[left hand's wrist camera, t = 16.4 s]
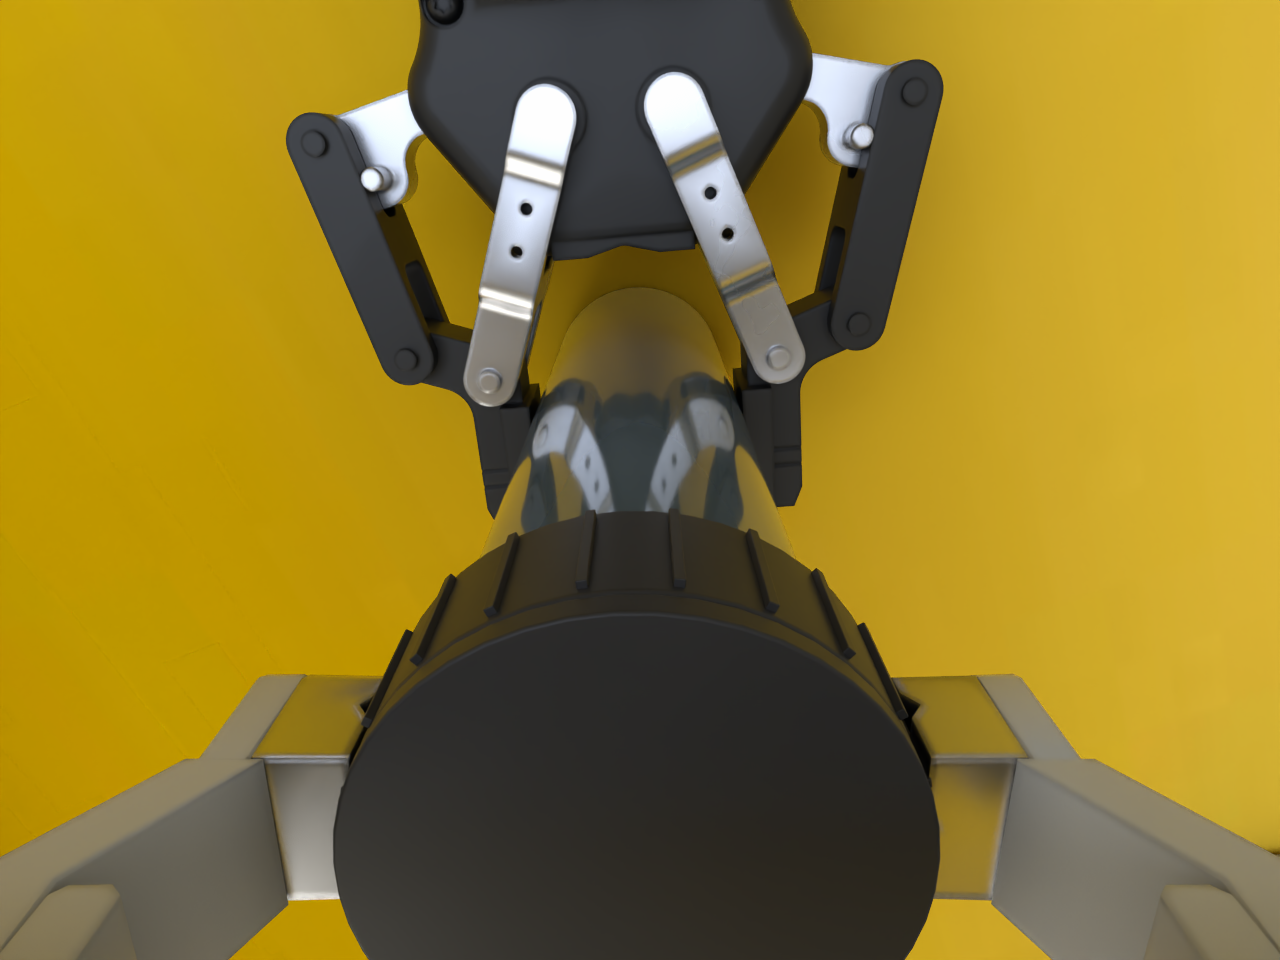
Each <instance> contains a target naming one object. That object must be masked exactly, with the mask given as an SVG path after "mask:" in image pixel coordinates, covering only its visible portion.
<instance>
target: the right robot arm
mask: <svg viewBox="0 0 1280 960" xmlns="http://www.w3.org/2000/svg"><path fill="white" fill-rule="evenodd" d="M418 1H419V7H420V19H421V27H420V37H419V44H418V48H417V52H416V56H415V59H414V62H413V64H412V67H411V70H410V73H409V78H408V90H406V91H403V92H400V93H398V94H395V95H392V96H389V97H387V98H384V99H381V100H379V101H376V102H373V103H370V104H368V105H365V106H362V107H360V108H357V109H354V110H351V111H349V112H346V113H343V114H341V115H330V114H322V113H304V114H302V115H300V116H298V117H296V118H295V119H294V120H293V121H292V123H291V124H290V126H289V128H288V130H287V135H286V145H287V149H288V152H289V155H290V157H291V159H292V162H293V164H294V166H295V168H296V171H297V173H298V175H299V178H300V180H301V182H302V184H303V187H304V189H305V191H306V194H307V196H308V198H309V201H310V203H311V205H312V207H313V210H314V212H315V214H316V217H317V219H318V221H319V223H320V226H321V228H322V230H323V233H324V235H325V237H326V239H327V242H328V244H329V246H330V249H331V251H332V253H333V256H334V258H335V260H336V262H337V265H338V267H339V269H340V272H341V274H342V276H343V278H344V281H345V283H346V285H347V288H348V290H349V292H350V294H351V297H352V299H353V301H354V304H355V306H356V308H357V311H358V313H359V315H360V317H361V320H362V322H363V324H364V327H365V329H366V331H367V333H368V336H369V338H370V340H371V343H372V345H373V347H374V349H375V352H376V354H377V356H378V359H379V361H380V363H381V366H382V368H383V370H384V371H385V373H386V374H387V375H388V376H389V377H390V378H391V379H392V380H394V381H395V382H397V383H400V384H403V385H415V384H419V383H425V384H429V385H433V386H437V387H440V388H444V389H448V390H451V391H453V392H455V393H457V394H458V395H460V396H461V397H462V398H463V399H464V400H465V401H466V402H467V403H468V405H469V406H470V408H471V410H472V413H473V417H474V423H475V429H476V436H477V442H478V449H479V455H480V462H481V468H482V475H483V482H484V486H485V495H486V501H487V508H488V511H489V512H490V514H491V516H492V517H493V519H494V520H495V517H496V515H497V512H498V509H499V507H500V504H501V502H502V499H503V496H504V494H505V491H506V489H507V486H508V483H509V481H510V478H511V475H512V473H513V470H514V468H515V465H516V462H517V460H518V457H519V455H520V452H521V449H522V447H523V444H524V441H525V439H526V436H527V434H528V431H529V428H530V426H531V423H532V421H533V418H534V415H535V413H536V410H537V408H538V405H539V402H540V400H541V396H540V388H539V383H538V384H529V377H528V369H527V367H528V364H529V360H530V355H531V351H532V347H533V343H534V339H535V335H536V330H537V326H538V322H539V318H540V314H541V310H542V306H543V302H544V298H545V295H546V292H547V289H548V285H549V282H550V278H551V274H552V269H553V265H554V261H558V260H570V259H582V258H589V257H592V256H594V255H597V254H600V253H603V252H605V251H608V250H611V249H613V248H616V247H619V246H624V245H625V246H631V247H637V248H642V249H647V250H653V251H658V252H664V251H676V250H688V249H695V244H698V246H699V249H700V251H701V253H702V255H703V258H704V260H705V262H706V265H707V267H708V269H709V272H710V274H711V276H712V278H713V280H714V283H715V285H716V287H717V289H718V292H719V294H720V296H721V299H722V301H723V303H724V305H725V308H726V310H727V312H728V315H729V317H730V319H731V322H732V324H733V326H734V329H735V331H736V333H737V335H738V338H739V340H740V346H741V368H733V383H734V393H735V396H736V399H737V401H738V404H739V407H740V409H741V412H742V415H743V417H744V420H745V423H746V425H747V428H748V431H749V434H750V436H751V439H752V442H753V444H754V447H755V450H756V452H757V455H758V458H759V461H760V463H761V466H762V469H763V471H764V474H765V477H766V479H767V482H768V485H769V487H770V490H771V493H772V496H773V498H774V501H775V504H776V506H777V507H784V506H794V505H795V503H796V500H797V498H798V495H799V493H800V490H801V487H802V465H801V461H802V459H801V413H800V387H801V383H802V380H803V378H804V376H805V374H806V373H807V371H808V370H809V369H810V368H811V367H812V366H813V365H814V364H816V363H817V362H819V361H821V360H823V359H825V358H827V357H830V356H832V355H834V354H836V353H839V352H841V351H843V350H846V349H849V350H863V349H866V348H869V347H871V346H872V345H873V344H875V343H876V342H877V341H878V340H879V338H880V337H881V336H882V334H883V331H884V329H885V325H886V321H887V317H888V313H889V309H890V305H891V301H892V297H893V293H894V289H895V285H896V281H897V277H898V273H899V269H900V265H901V261H902V257H903V253H904V249H905V245H906V241H907V237H908V233H909V229H910V225H911V220H912V216H913V212H914V208H915V204H916V200H917V196H918V192H919V188H920V184H921V180H922V176H923V172H924V168H925V164H926V160H927V156H928V152H929V148H930V144H931V140H932V136H933V132H934V128H935V124H936V120H937V116H938V112H939V108H940V104H941V100H942V96H943V81H942V78H941V75H940V73H939V71H938V70H937V69H936V67H934V66H933V65H932V64H931V63H929V62H927V61H924V60H909V61H903V62H898V63H896V64H893V65H889V66H887V65H881V64H875V63H869V62H863V61H857V60H851V59H845V58H839V57H833V56H828V55H822V54H816V53H812V50H811V46H810V43H809V40H808V37H807V35H806V33H805V31H804V30H803V28H802V26H801V25H800V23H799V21H798V19H797V17H796V15H795V13H794V10H793V7H792V5H791V2H790V0H418ZM801 103H803V104H805V105H807V106H808V107H810V108H811V109H812V110H813V111H814V113H815V114H816V116H817V118H818V121H819V125H820V138H819V141H820V147H821V150H822V153H823V154H824V156H825V157H826V158H827V159H828V160H829V161H830V162H832V163H834V164H836V165H840V166H842V168H841V172H840V177H839V181H838V186H837V191H836V195H835V200H834V204H833V209H832V214H831V218H830V223H829V227H828V232H827V236H826V241H825V246H824V250H823V255H822V259H821V264H820V268H819V273H818V278H817V282H816V287H815V291H814V293H813V294H811V295H808V296H806V297H804V298H802V299H800V300H797V301H795V302H793V303H791V304H789V305H786V302H785V300H784V297H783V295H782V292H781V290H780V288H779V285H778V283H777V280H776V277H775V273H774V269H773V266H772V263H771V261H770V258H769V256H768V253H767V251H766V248H765V246H764V243H763V241H762V238H761V236H760V234H759V231H758V229H757V226H756V224H755V221H754V219H753V216H752V214H751V211H750V209H749V207H748V204H747V202H746V199H745V197H744V195H745V193H746V192H747V190H748V189H749V187H750V185H751V184H752V182H753V180H754V179H755V177H756V176H757V174H758V172H759V171H760V169H761V167H762V166H763V164H764V163H765V161H766V159H767V158H768V156H769V154H770V153H771V151H772V150H773V148H774V146H775V145H776V143H777V142H778V140H779V138H780V137H781V135H782V133H783V132H784V130H785V129H786V127H787V125H788V124H789V122H790V120H791V119H792V117H793V116H794V114H795V112H796V111H797V109H798V107H799V106H800V104H801ZM426 138H428V139H429V140H430V141H431V142H432V143H433V145H434V146H435V147H436V148H437V149H438V150H439V151H440V152H441V154H442V155H443V156H444V157H445V158H446V159H447V160H448V162H449V163H450V164H451V165H452V166H453V167H454V168H455V170H456V171H457V172H458V173H459V174H460V175H461V176H462V177H463V179H464V180H465V181H466V182H467V183H468V184H469V185H470V187H471V188H472V189H473V190H474V191H475V192H476V193H477V195H478V196H479V197H480V198H481V199H482V200H483V201H484V202H485V204H486V205H487V206H488V207H489V208H490V209H491V210H492V212H493V213H494V214H495V217H494V221H493V226H492V231H491V235H490V240H489V245H488V249H487V254H486V259H485V263H484V268H483V273H482V277H481V282H480V287H479V305H478V311H477V315H476V320H475V325H474V329H473V330H472V329H469V328H465V327H461V326H457V325H454V324H450V322H449V319H448V317H447V315H446V312H445V310H444V307H443V305H442V302H441V300H440V297H439V295H438V292H437V290H436V287H435V285H434V282H433V280H432V277H431V275H430V272H429V270H428V267H427V265H426V262H425V260H424V257H423V255H422V252H421V250H420V247H419V245H418V242H417V240H416V237H415V235H414V232H413V230H412V228H411V225H410V223H409V220H408V218H407V215H406V213H405V210H404V208H403V205H402V204H403V203H405V202H407V201H408V200H410V199H411V197H412V196H413V195H414V193H415V191H416V189H417V185H418V174H417V170H416V166H415V156H416V152H417V149H418V147H419V145H420V144H421V142H422V141H423V140H424V139H426Z"/></svg>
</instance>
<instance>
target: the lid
mask: <svg viewBox="0 0 1280 960" xmlns="http://www.w3.org/2000/svg"><path fill="white" fill-rule="evenodd" d="M907 717H908V714H907V712H906V710H905V707H904V705H903V703H902V701H901V699H900V697H899V695H898V692H897V690H896V688H895V686H894V684H893V682H892V679H891V677H890V675H889V673H888V671H887V669H886V667H885V664H884V662H883V660H882V658H881V656H880V654H879V652H878V649H877V647H876V645H875V643H874V641H873V639H872V636H871V634H870V632H869V630H868V628H867V626H866V625H865V623H861V624H859V625H858V626H857V624H856V622H855V620H854V619H853V617H852V615H851V614H850V613H849V611H848V610H847V609H846V608H845V606H844V605H843V604H842V602H841V601H840V600H839V599H838V597H837V596H836V595H835V594H834V592H833V591H832V590H831V589H830V588H829V587H828V585H827V582H826V580H825V578H824V575H823V573H822V572H821V571H819V570H818V569H817V568H816V569H815V570H814V571H813V572H812V571H811V570H810V569H808V568H807V567H805V566H804V565H803V564H801V563H800V562H798V561H797V560H796V559H794V558H793V557H791V556H790V555H789V554H787V553H786V552H784V551H783V550H781V549H779V548H777V547H775V546H773V545H771V544H769V543H768V542H766V541H764V540H762V539H760V538H759V534H758V532H757V531H755V530H753V529H750V528H749V529H748V531H747V532H744V531H741V530H739V529H736V528H733V527H731V526H728V525H725V524H723V523H719V522H715V521H711V520H706V519H702V518H698V517H694V516H690V515H683V514H679V509H674V508H669V512H668V513H666V512H657V511H615V512H608V513H600V514H596V511H595V509H593V510H586V511H585V515H584V516H579V517H575V518H571V519H568V520H564V521H560V522H556V523H552V524H548V525H545V526H543V527H540V528H538V529H535V530H533V531H530V532H528V533H525V534H523V535H520V536H519V535H518V534H517V532H514V533H512V534H510V535H508V537H507V540H506V543H505V544H503V545H501V546H499V547H497V548H495V549H494V550H492V551H490V552H488V553H487V554H485V555H484V556H483V557H481V558H480V559H478V560H477V561H476V562H474V563H473V564H472V565H470V566H469V567H468V568H466V569H465V570H464V571H462V572H461V573H460V574H459V575H458V576H457V577H455V576H453V575H452V574H450V575H449V576H448V577H447V578H446V579H445V580H444V583H443V585H442V587H441V589H440V592H439V594H438V596H437V597H436V599H435V600H434V601H433V603H432V604H431V605H430V607H429V608H428V609H427V611H426V612H425V613H424V614H423V616H422V617H421V619H420V620H419V622H418V624H417V626H416V628H415V630H414V631H413V632H412V631H409V630H407V629H406V630H405V632H404V634H403V636H402V638H401V640H400V642H399V644H398V646H397V649H396V651H395V653H394V655H393V657H392V659H391V661H390V663H389V665H388V667H387V669H386V672H385V674H384V676H383V678H382V680H381V682H380V684H379V686H378V688H377V690H376V692H375V695H374V697H373V699H372V701H371V703H370V705H369V707H368V709H367V711H366V713H365V715H364V718H363V720H362V722H361V725H362V726H365V727H367V728H368V729H367V731H366V733H365V735H364V737H363V740H362V742H361V745H360V747H359V748H358V750H357V753H356V755H355V757H354V759H353V761H352V763H351V766H350V768H349V770H348V773H347V776H346V779H345V782H344V785H343V787H341V790H340V796H339V799H338V805H337V810H336V816H335V822H334V828H333V865H334V871H335V877H336V883H337V888H338V894H339V897H340V900H341V903H342V906H343V909H344V912H345V915H346V918H347V921H348V924H349V926H350V928H351V929H352V931H353V933H354V935H355V937H356V939H357V941H358V943H359V945H360V947H361V949H362V951H363V952H364V954H365V955H366V956H367V958H368V959H369V960H905V958H906V957H907V955H908V954H909V953H910V951H911V950H912V948H913V946H914V944H915V942H916V940H917V938H918V936H919V934H920V932H921V930H922V928H923V926H924V924H925V922H926V920H927V917H928V913H929V910H930V907H931V904H932V901H933V898H934V895H935V891H936V885H937V878H938V871H939V864H940V826H939V821H938V816H937V811H936V806H935V800H934V795H933V793H932V790H931V788H932V781H931V778H928V776H927V774H926V771H925V769H924V767H923V765H922V763H921V761H920V758H919V756H918V754H917V752H916V750H915V748H914V745H913V743H912V741H911V739H910V737H909V736H910V731H909V729H908V727H907V725H906V723H905V720H904V719H905V718H907Z"/></svg>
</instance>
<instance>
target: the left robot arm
mask: <svg viewBox="0 0 1280 960" xmlns="http://www.w3.org/2000/svg"><path fill="white" fill-rule="evenodd" d="M382 678H383V676H347V675H309V676H307V675H305V674H285V675H265V676H262V677H259V678H258V679H257V680H256V682H255V683H254V684H253V686H252V687H251V689H250V690H249V691H248V693H247V694H246V695H245V697H244V698H243V699H242V701H241V702H240V704H239V705H238V706H237V708H236V709H235V710H234V712H233V713H232V714H231V716H230V717H229V719H228V720H227V721H226V723H225V724H224V725H223V727H222V728H221V729H220V731H219V732H218V734H217V735H216V736H215V738H214V739H213V740H212V742H211V743H210V744H209V746H208V747H207V749H206V750H205V751H204V753H203V754H202V755H201V757H200V758H199V759H184V760H183V761H181V762H179V763H177V764H175V765H173V766H171V767H169V768H168V769H166V770H164V771H162V772H160V773H158V774H156V775H154V776H152V777H151V778H149V779H147V780H145V781H143V782H141V783H139V784H137V785H135V786H134V787H132V788H130V789H128V790H126V791H124V792H122V793H120V794H119V795H117V796H115V797H113V798H111V799H109V800H107V801H105V802H103V803H102V804H100V805H98V806H96V807H94V808H92V809H90V810H88V811H86V812H85V813H83V814H81V815H79V816H77V817H75V818H73V819H71V820H70V821H68V822H66V823H64V824H62V825H60V826H58V827H56V828H54V829H53V830H51V831H49V832H47V833H45V834H43V835H41V836H39V837H37V838H36V839H34V840H32V841H30V842H28V843H26V844H24V845H22V846H21V847H19V848H17V849H15V850H13V851H11V852H9V853H7V854H5V855H4V856H2V857H0V960H228V959H229V958H230V957H232V956H233V955H234V954H235V953H236V952H237V951H238V950H239V949H240V948H241V947H242V946H244V945H245V944H246V943H247V942H248V941H249V940H250V939H251V938H252V937H253V936H255V935H256V934H257V933H258V932H259V931H260V930H261V929H262V928H263V927H264V926H265V925H267V924H268V923H269V922H270V921H271V920H272V919H273V918H274V917H275V916H276V915H278V914H279V913H280V912H281V911H282V910H283V909H284V908H285V907H286V906H287V905H288V900H315V899H340V897H339V894H338V888H337V883H336V877H335V871H334V865H333V828H334V822H335V816H336V810H337V805H338V799H339V796H340V790H341V787H343V785H344V782H345V779H346V776H347V773H348V770H349V768H350V766H351V763H352V761H353V759H354V757H355V755H356V753H357V750H358V748H359V747H360V745H361V742H362V740H363V737H364V735H365V733H366V731H367V729H368V728H367V727H365V726H362V725H361V722H362V720H363V718H364V715H365V713H366V711H367V709H368V707H369V705H370V703H371V701H372V699H373V697H374V695H375V692H376V690H377V688H378V686H379V684H380V682H381V680H382ZM891 679H892V682H893V684H894V686H895V688H896V690H897V692H898V695H899V697H900V699H901V701H902V703H903V705H904V707H905V710H906V712H907V714H908V717H907V718H905V719H904V720H905V723H906V725H907V727H908V729H909V731H910V736H909V737H910V739H911V741H912V743H913V745H914V748H915V750H916V752H917V754H918V756H919V758H920V761H921V763H922V765H923V767H924V769H925V771H926V774H927V776H928V778H931V781H932V788H931V790H932V793H933V795H934V800H935V806H936V811H937V816H938V821H939V826H940V864H939V871H938V878H937V885H936V891H935V895H934V898H933V899H964V900H992V903H991V904H992V905H993V906H994V907H995V908H996V909H997V910H999V911H1000V912H1001V913H1002V914H1003V915H1004V916H1005V917H1006V918H1007V919H1008V920H1010V921H1011V922H1012V923H1013V924H1014V925H1015V926H1016V927H1017V928H1018V929H1019V930H1020V931H1022V932H1023V933H1024V934H1025V935H1026V936H1027V937H1028V938H1029V939H1030V940H1031V941H1032V942H1034V943H1035V944H1036V945H1037V946H1038V947H1039V948H1040V949H1041V950H1042V951H1043V952H1044V953H1046V954H1047V955H1048V956H1049V957H1050V958H1051V959H1052V960H1280V857H1278V856H1276V855H1274V854H1272V853H1270V852H1268V851H1266V850H1265V849H1263V848H1261V847H1259V846H1257V845H1255V844H1253V843H1251V842H1250V841H1248V840H1246V839H1244V838H1242V837H1240V836H1238V835H1236V834H1235V833H1233V832H1231V831H1229V830H1227V829H1225V828H1223V827H1221V826H1220V825H1218V824H1216V823H1214V822H1212V821H1210V820H1208V819H1206V818H1204V817H1203V816H1201V815H1199V814H1197V813H1195V812H1193V811H1191V810H1189V809H1188V808H1186V807H1184V806H1182V805H1180V804H1178V803H1176V802H1174V801H1173V800H1171V799H1169V798H1167V797H1165V796H1163V795H1161V794H1159V793H1158V792H1156V791H1154V790H1152V789H1150V788H1148V787H1146V786H1144V785H1143V784H1141V783H1139V782H1137V781H1135V780H1133V779H1131V778H1129V777H1127V776H1126V775H1124V774H1122V773H1120V772H1118V771H1116V770H1114V769H1112V768H1111V767H1109V766H1107V765H1105V764H1103V763H1101V762H1099V761H1097V760H1096V759H1081V758H1080V757H1079V755H1078V754H1077V753H1076V751H1075V750H1074V749H1073V747H1072V746H1071V745H1070V743H1069V742H1068V741H1067V739H1066V738H1065V736H1064V735H1063V734H1062V732H1061V731H1060V730H1059V728H1058V727H1057V726H1056V724H1055V723H1054V722H1053V720H1052V719H1051V718H1050V716H1049V715H1048V713H1047V712H1046V711H1045V709H1044V708H1043V707H1042V705H1041V704H1040V703H1039V701H1038V700H1037V699H1036V697H1035V696H1034V695H1033V693H1032V692H1031V690H1030V689H1029V688H1028V686H1027V685H1026V684H1025V682H1024V681H1023V680H1022V678H1020V677H1018V676H1016V675H1014V674H996V675H971V676H941V677H900V678H891Z"/></svg>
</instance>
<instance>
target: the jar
mask: <svg viewBox="0 0 1280 960" xmlns="http://www.w3.org/2000/svg"><path fill="white" fill-rule="evenodd" d="M669 508H674V509H679V514H683V515H690V516H694V517H698V518H702V519H706V520H711V521H715V522H719V523H723V524H725V525H728V526H731V527H733V528H736V529H739V530H741V531H744V532H747V531H748V529H749V528H750V529H753V530H755V531H757V532H758V534H759V538H760V539H762V540H764V541H766V542H768V543H769V544H771V545H773V546H775V547H777V548H779V549H781V550H783V551H784V552H786V553H787V554H789V555H790V556H791V557H793V558H794V559H796V558H795V555H794V552H793V549H792V547H791V544H790V541H789V539H788V536H787V533H786V531H785V528H784V525H783V523H782V520H781V517H780V514H779V512H778V509H777V506H776V504H775V501H774V498H773V496H772V493H771V490H770V487H769V485H768V482H767V479H766V477H765V474H764V471H763V469H762V466H761V463H760V461H759V458H758V455H757V452H756V450H755V447H754V444H753V442H752V439H751V436H750V434H749V431H748V428H747V425H746V423H745V420H744V417H743V415H742V412H741V409H740V407H739V404H738V401H737V399H736V396H735V393H734V390H733V388H732V385H731V382H730V380H729V377H728V374H727V372H726V369H725V366H724V364H723V361H722V358H721V355H720V353H719V350H718V347H717V345H716V342H715V339H714V337H713V334H712V332H711V330H710V328H709V326H708V325H707V323H706V322H705V320H704V319H703V318H702V316H701V315H700V314H699V313H698V312H697V311H696V310H695V309H694V308H693V307H692V306H690V305H689V304H688V303H687V302H685V301H684V300H682V299H680V298H679V297H677V296H675V295H673V294H670V293H668V292H665V291H662V290H658V289H653V288H647V287H633V288H624V289H620V290H616V291H613V292H610V293H608V294H605V295H603V296H601V297H600V298H598V299H596V300H594V301H593V302H592V303H590V304H589V305H588V306H586V307H585V308H584V309H583V310H582V311H581V312H580V313H579V314H578V315H577V317H576V318H575V319H574V321H573V322H572V323H571V325H570V327H569V329H568V330H567V332H566V335H565V337H564V340H563V342H562V345H561V347H560V350H559V353H558V355H557V358H556V361H555V363H554V366H553V368H552V371H551V374H550V376H549V379H548V381H547V384H546V387H545V389H544V392H543V394H542V397H541V400H540V402H539V405H538V408H537V410H536V413H535V415H534V418H533V421H532V423H531V426H530V428H529V431H528V434H527V436H526V439H525V441H524V444H523V447H522V449H521V452H520V455H519V457H518V460H517V462H516V465H515V468H514V470H513V473H512V475H511V478H510V481H509V483H508V486H507V489H506V491H505V494H504V496H503V499H502V502H501V504H500V507H499V509H498V512H497V515H496V517H495V520H494V522H493V525H492V528H491V530H490V533H489V536H488V538H487V541H486V543H485V546H484V549H483V551H482V554H481V556H480V558H481V557H483V556H484V555H485V554H487V553H488V552H490V551H492V550H494V549H495V548H497V547H499V546H501V545H503V544H505V543H506V540H507V537H508V535H510V534H512V533H514V532H517V534H518V535H519V536H520V535H523V534H525V533H528V532H530V531H533V530H535V529H538V528H540V527H543V526H545V525H548V524H552V523H556V522H560V521H564V520H568V519H571V518H575V517H579V516H584V515H585V511H586V510H593V509H595V511H596V514H600V513H608V512H615V511H657V512H666V513H668V512H669Z"/></svg>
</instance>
